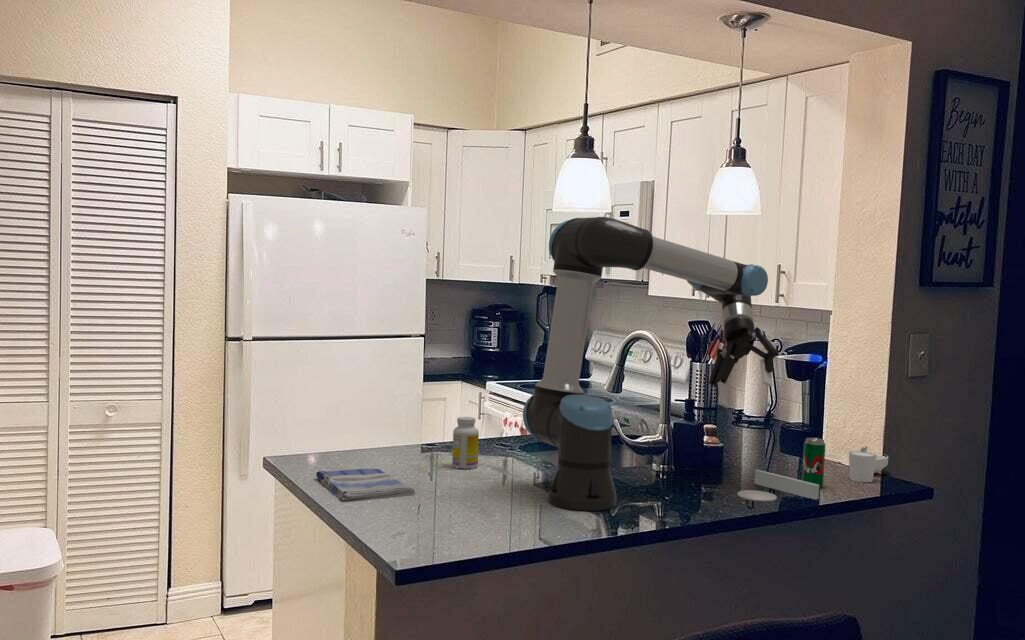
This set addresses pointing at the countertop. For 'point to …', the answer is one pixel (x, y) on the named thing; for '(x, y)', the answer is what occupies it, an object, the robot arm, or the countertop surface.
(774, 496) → the disc
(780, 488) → the acrylic fence
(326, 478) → the dish towel
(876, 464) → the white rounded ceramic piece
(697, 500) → the countertop surface
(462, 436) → the supplement bottle
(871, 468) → the white cup
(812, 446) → the soda can
